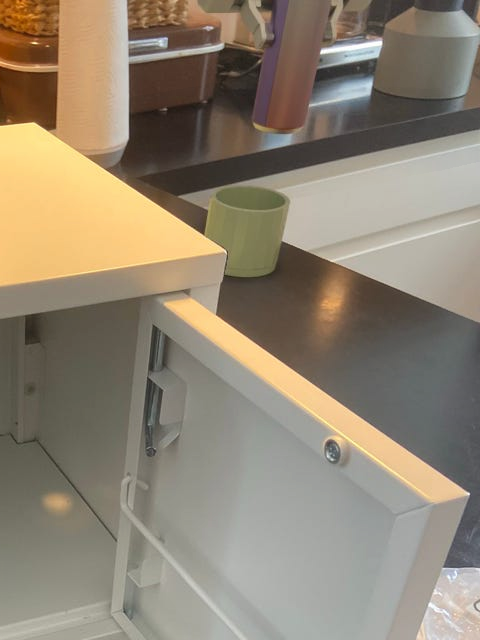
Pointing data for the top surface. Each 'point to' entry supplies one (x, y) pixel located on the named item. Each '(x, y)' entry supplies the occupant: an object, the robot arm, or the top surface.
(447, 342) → the top surface
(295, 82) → the beverage can
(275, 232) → the tumbler
